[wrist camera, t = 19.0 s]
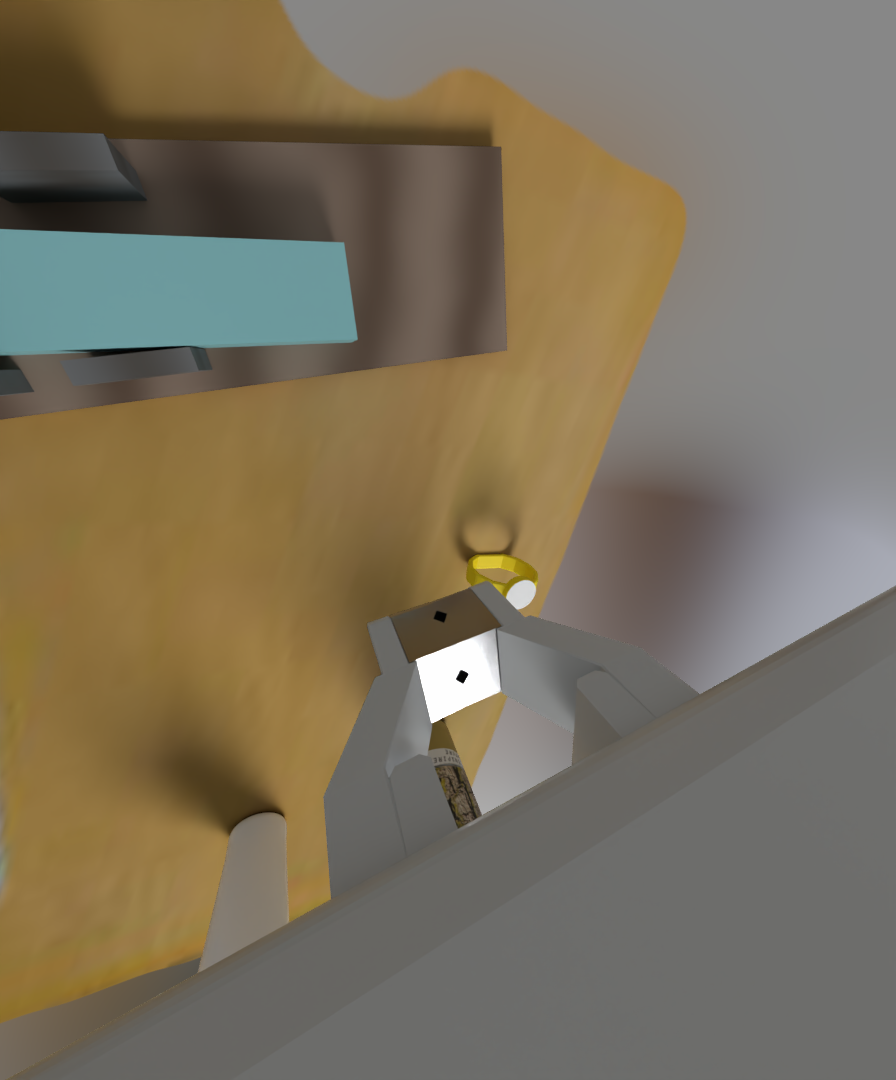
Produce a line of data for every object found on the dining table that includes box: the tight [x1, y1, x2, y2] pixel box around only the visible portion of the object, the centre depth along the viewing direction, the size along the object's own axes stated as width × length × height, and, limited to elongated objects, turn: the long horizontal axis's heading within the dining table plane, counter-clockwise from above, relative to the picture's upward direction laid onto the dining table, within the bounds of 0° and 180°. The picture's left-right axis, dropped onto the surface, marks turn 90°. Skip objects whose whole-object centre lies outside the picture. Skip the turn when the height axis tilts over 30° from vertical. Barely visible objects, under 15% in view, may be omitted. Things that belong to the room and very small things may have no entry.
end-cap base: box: [0, 131, 507, 419], centre depth 16 cm, size 32×10×6 cm, turn 95°
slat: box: [0, 229, 358, 356], centre depth 16 cm, size 20×4×3 cm, turn 92°
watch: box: [466, 553, 538, 609], centre depth 30 cm, size 6×3×6 cm, turn 79°
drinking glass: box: [198, 812, 289, 973], centre depth 31 cm, size 7×7×15 cm
